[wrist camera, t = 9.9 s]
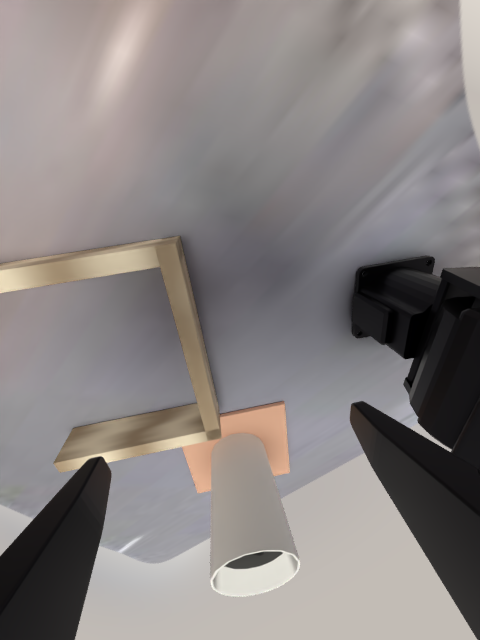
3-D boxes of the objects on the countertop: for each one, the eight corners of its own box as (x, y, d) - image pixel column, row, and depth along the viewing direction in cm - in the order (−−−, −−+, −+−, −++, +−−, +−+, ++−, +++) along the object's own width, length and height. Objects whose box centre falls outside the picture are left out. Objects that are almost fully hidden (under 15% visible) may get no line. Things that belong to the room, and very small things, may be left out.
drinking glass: (198, 441, 26) (197, 568, 17) (261, 422, 26) (292, 539, 17) (217, 479, 29) (224, 605, 20) (273, 461, 29) (306, 579, 20)
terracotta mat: (283, 401, 26) (284, 404, 25) (288, 469, 30) (289, 472, 30) (175, 423, 25) (175, 426, 24) (198, 489, 30) (198, 493, 29)
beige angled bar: (179, 235, 18) (175, 243, 14) (219, 408, 25) (221, 438, 22) (-24, 267, 17) (-76, 282, 14) (78, 437, 24) (60, 472, 21)
